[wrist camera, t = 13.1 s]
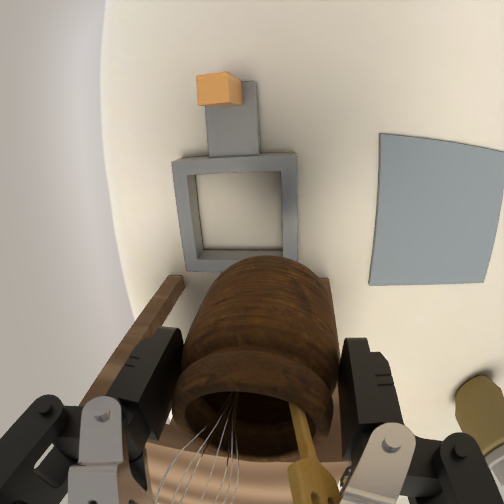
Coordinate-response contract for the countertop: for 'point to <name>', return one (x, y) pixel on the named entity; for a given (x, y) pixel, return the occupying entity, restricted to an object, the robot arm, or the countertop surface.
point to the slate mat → (435, 211)
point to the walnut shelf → (173, 440)
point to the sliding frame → (230, 168)
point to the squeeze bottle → (483, 419)
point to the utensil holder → (262, 373)
